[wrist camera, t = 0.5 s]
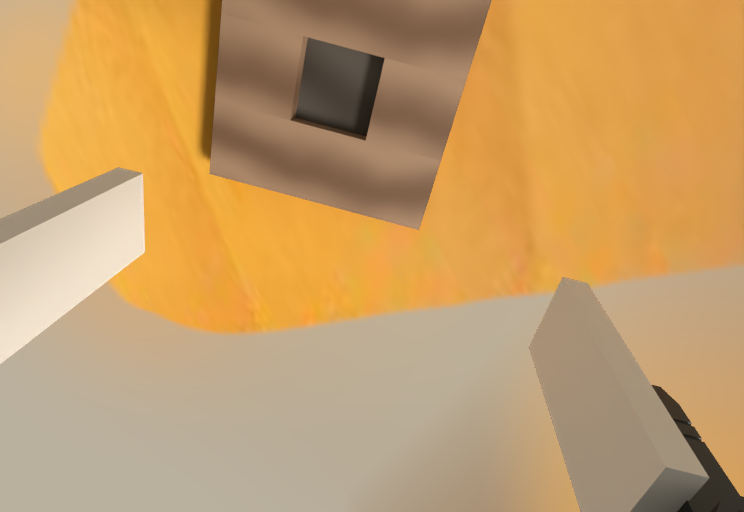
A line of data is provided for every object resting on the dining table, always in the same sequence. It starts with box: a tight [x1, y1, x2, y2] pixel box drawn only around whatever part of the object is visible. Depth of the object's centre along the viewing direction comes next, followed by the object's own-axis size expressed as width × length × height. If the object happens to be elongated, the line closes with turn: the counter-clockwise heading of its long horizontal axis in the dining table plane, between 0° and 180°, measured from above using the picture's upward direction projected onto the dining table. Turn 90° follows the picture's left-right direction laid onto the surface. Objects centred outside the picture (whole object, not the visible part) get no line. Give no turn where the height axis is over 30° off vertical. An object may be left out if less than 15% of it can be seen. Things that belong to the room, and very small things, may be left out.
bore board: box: [209, 0, 491, 230], centre depth 34 cm, size 18×18×2 cm
